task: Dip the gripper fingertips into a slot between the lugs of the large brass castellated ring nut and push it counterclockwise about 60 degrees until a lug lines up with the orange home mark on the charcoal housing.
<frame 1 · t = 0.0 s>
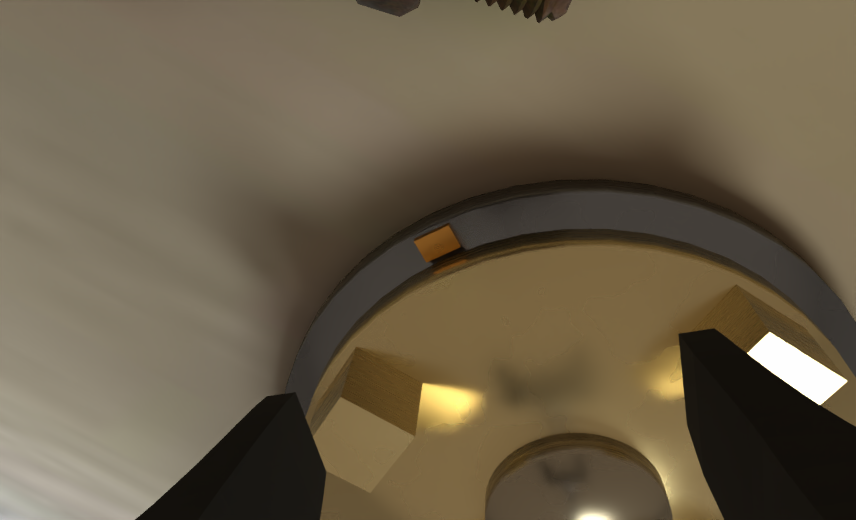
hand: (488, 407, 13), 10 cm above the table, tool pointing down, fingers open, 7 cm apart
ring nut: (575, 515, 23), point 3 cm above the table, hinge at 0.0°
nut housing: (564, 444, 26), on the table
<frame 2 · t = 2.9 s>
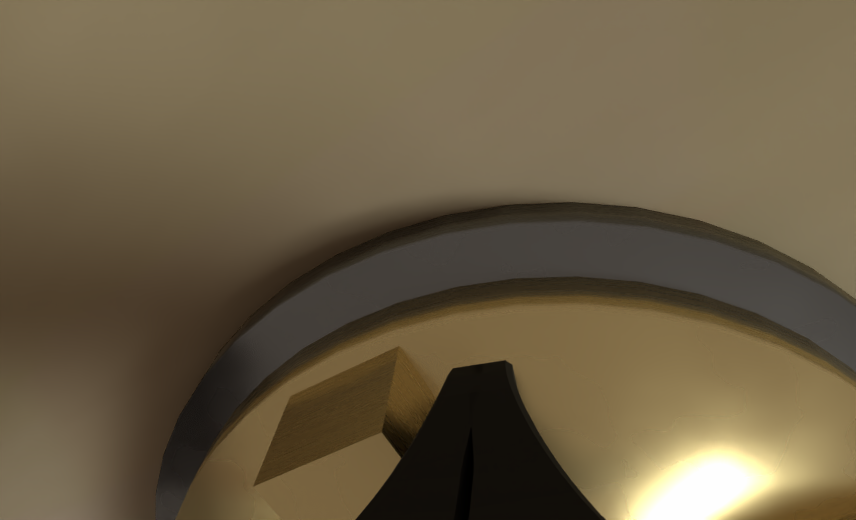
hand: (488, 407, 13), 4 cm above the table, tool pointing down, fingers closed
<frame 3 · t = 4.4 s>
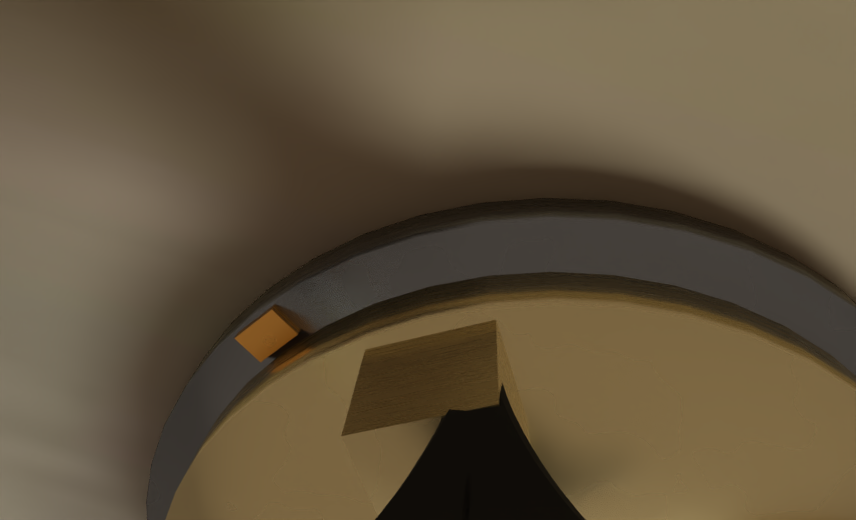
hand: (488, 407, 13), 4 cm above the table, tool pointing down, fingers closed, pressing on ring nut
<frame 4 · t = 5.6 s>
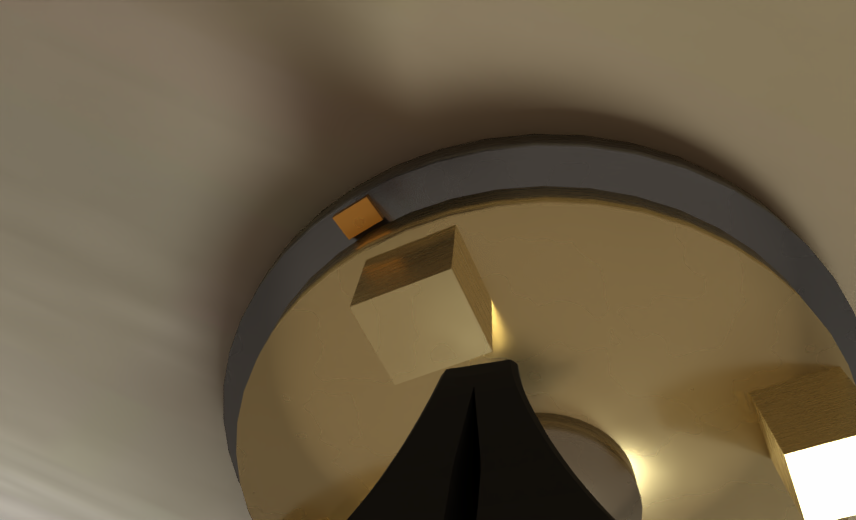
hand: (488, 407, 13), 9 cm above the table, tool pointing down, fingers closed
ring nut: (538, 503, 21), point 3 cm above the table, hinge at 51.5°
nut housing: (531, 428, 24), on the table
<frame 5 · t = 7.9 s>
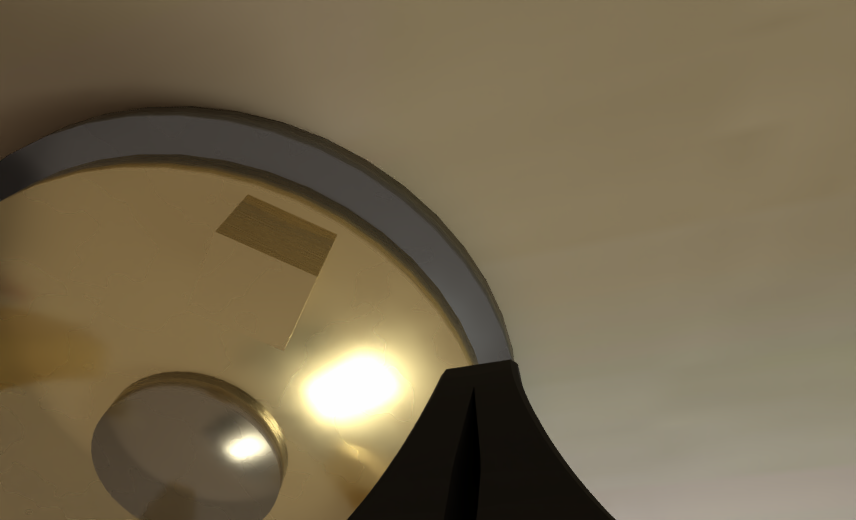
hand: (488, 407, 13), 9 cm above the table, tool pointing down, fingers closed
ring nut: (191, 459, 22), point 3 cm above the table, hinge at 51.5°
nut housing: (227, 393, 25), on the table
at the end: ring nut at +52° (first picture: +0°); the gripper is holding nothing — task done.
